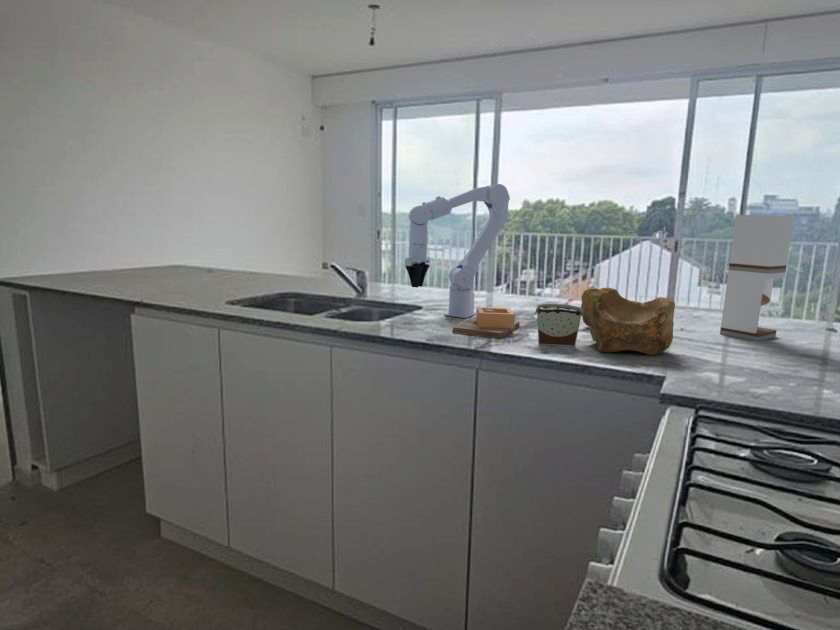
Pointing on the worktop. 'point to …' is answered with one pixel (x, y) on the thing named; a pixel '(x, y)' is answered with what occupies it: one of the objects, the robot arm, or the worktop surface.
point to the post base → (482, 328)
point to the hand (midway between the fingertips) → (417, 286)
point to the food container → (558, 324)
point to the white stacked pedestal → (754, 272)
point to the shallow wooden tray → (495, 318)
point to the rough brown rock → (628, 321)
